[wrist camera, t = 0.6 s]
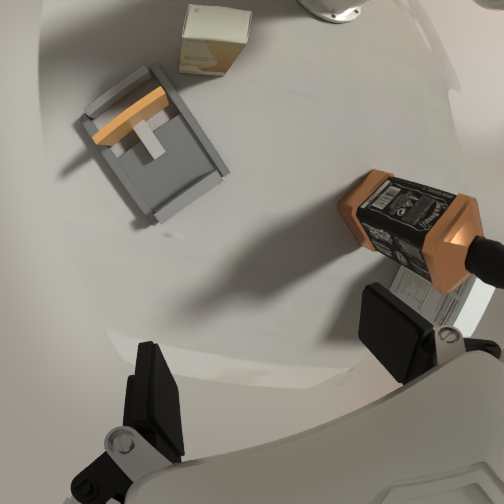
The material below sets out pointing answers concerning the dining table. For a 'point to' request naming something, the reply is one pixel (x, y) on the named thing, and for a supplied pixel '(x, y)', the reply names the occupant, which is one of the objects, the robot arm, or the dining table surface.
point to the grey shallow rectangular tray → (167, 165)
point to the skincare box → (212, 38)
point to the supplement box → (444, 300)
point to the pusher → (136, 123)
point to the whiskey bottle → (423, 230)
